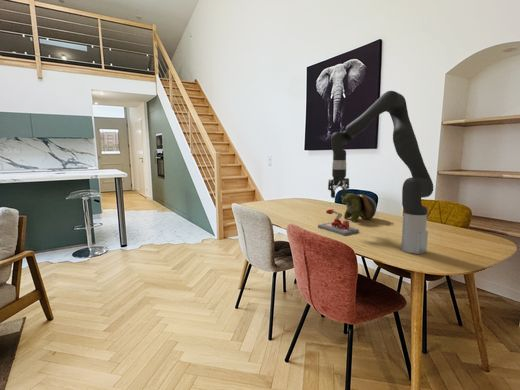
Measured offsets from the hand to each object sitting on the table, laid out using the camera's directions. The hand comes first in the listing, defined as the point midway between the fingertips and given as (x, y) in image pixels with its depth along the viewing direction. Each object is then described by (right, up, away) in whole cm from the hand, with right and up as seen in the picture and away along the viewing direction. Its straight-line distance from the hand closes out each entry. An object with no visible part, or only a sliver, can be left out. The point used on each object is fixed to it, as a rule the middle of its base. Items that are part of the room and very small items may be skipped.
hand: (338, 197), depth 160 cm
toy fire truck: (0, -18, +3) cm, 18 cm away
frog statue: (+20, -15, +26) cm, 36 cm away
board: (0, -19, +3) cm, 19 cm away
